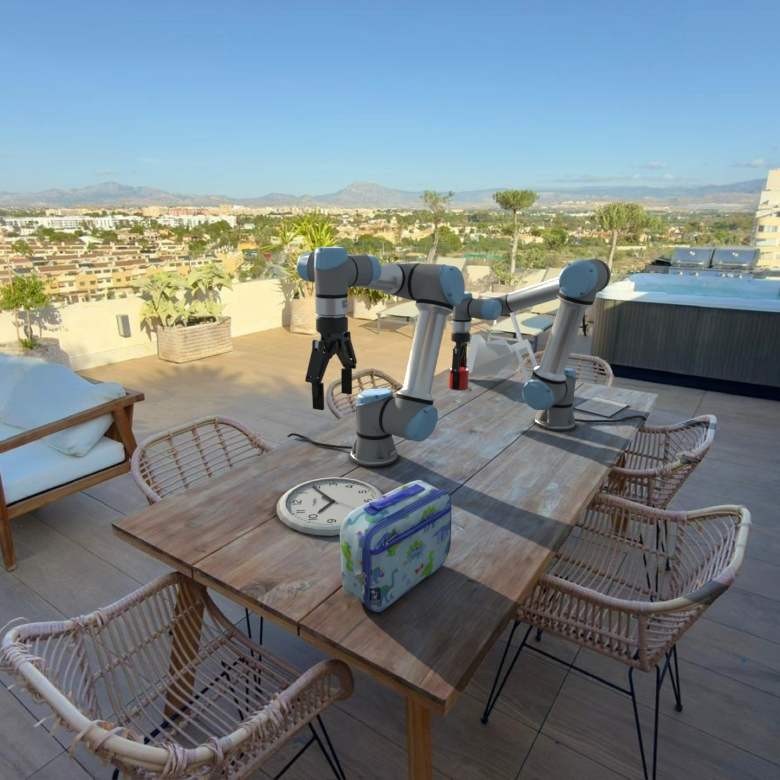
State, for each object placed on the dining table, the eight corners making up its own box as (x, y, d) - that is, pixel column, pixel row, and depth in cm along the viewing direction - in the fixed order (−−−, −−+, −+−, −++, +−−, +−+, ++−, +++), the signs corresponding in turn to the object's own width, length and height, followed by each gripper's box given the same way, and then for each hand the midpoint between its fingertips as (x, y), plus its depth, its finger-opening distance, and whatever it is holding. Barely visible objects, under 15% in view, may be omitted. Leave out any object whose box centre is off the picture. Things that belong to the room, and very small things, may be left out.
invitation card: (608, 416, 214) (573, 407, 224) (608, 416, 214) (573, 408, 224) (628, 404, 229) (594, 396, 238) (628, 405, 229) (594, 397, 238)
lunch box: (369, 626, 100) (370, 530, 93) (334, 598, 107) (332, 507, 101) (455, 567, 117) (460, 483, 111) (419, 547, 124) (423, 467, 118)
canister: (444, 387, 215) (445, 368, 213) (457, 384, 220) (457, 365, 218) (459, 391, 210) (460, 372, 208) (471, 388, 215) (472, 369, 213)
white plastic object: (478, 420, 264) (457, 397, 239) (460, 347, 286) (438, 319, 261) (549, 396, 251) (535, 369, 227) (524, 322, 273) (509, 290, 249)
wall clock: (392, 527, 129) (268, 531, 127) (391, 533, 130) (269, 537, 127) (383, 473, 158) (282, 475, 155) (383, 478, 158) (282, 480, 156)
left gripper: (316, 324, 110) (319, 419, 116) (370, 309, 132) (369, 389, 138) (287, 321, 113) (291, 413, 119) (344, 307, 135) (344, 385, 141)
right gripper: (458, 326, 219) (456, 379, 225) (444, 335, 200) (442, 391, 207) (476, 327, 216) (473, 380, 223) (463, 336, 198) (460, 394, 204)
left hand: (333, 401), depth 129 cm, fingers open, 13 cm apart
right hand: (458, 386), depth 215 cm, fingers closed on canister, 8 cm apart
